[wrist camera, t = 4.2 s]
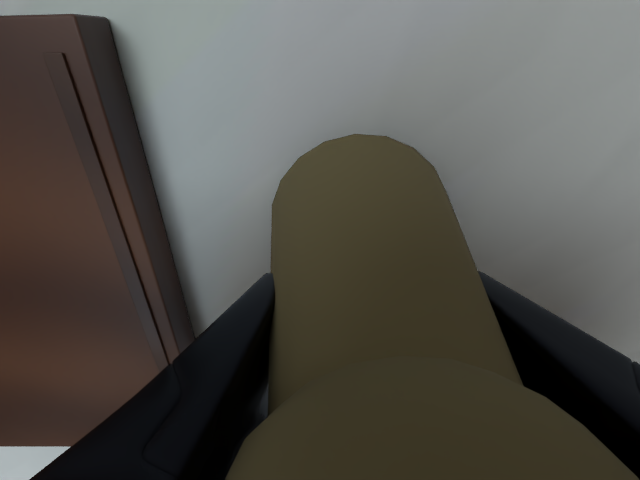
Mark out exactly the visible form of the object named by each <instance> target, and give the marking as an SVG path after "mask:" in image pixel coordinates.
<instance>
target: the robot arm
mask: <svg viewBox="0 0 640 480" xmlns="http://www.w3.org/2000/svg"><path fill="white" fill-rule="evenodd" d="M478 273H479V276H480V278H481V281H482V283H483V286H484V288H485V291H486V294H487V296H488V299H489V301H490V304H491V306H492V308H493V311H494V313H495V316H496V318H497V321H498V323H499V326H500V328H501V331H502V333H503V336H504V338H505V341H506V343H507V346H508V348H509V351H510V353H511V356H512V358H513V361H514V363H515V366H516V368H517V371H518V373H519V376H520V378H521V381H522V383H523V386H524V387H526V388H528V389H530V390H532V391H534V392H536V393H538V394H541V395H543V396H545V397H546V398H548V399H549V400H550V401H552V402H553V403H554V404H556V405H557V406H558V407H560V408H561V409H562V410H564V411H565V412H566V413H568V414H569V415H570V416H572V417H573V418H575V419H576V420H577V421H579V422H580V423H581V424H583V425H584V426H585V427H586V428H587V429H588V430H589V431H590V432H591V433H592V434H593V435H594V436H595V437H596V438H597V439H598V440H599V441H601V442H602V443H603V444H604V445H605V446H606V447H607V448H608V449H609V450H610V451H611V452H612V453H613V454H614V455H615V456H616V457H617V458H618V459H619V460H620V461H621V462H622V463H623V464H624V465H625V466H626V467H628V468H629V469H630V470H631V471H632V472H633V473H634V474H635V475H636V476H637V477H638V478H639V480H640V364H638V363H637V362H631V359H630V358H628V357H626V356H624V355H623V354H621V353H619V352H618V351H616V350H614V349H612V348H611V347H609V346H607V345H606V344H604V343H602V342H600V341H599V340H597V339H595V338H594V337H592V336H590V335H589V334H587V333H585V332H583V331H582V330H580V329H578V328H577V327H575V326H573V325H571V324H570V323H568V322H566V321H565V320H563V319H561V318H559V317H558V316H556V315H554V314H553V313H551V312H549V311H547V310H546V309H544V308H542V307H541V306H539V305H537V304H535V303H534V302H532V301H530V300H529V299H527V298H525V297H523V296H522V295H520V294H518V293H517V292H515V291H513V290H511V289H510V288H508V287H506V286H505V285H503V284H501V283H499V282H498V281H496V280H494V279H493V278H491V277H489V276H487V275H486V274H484V273H482V272H480V271H478ZM274 307H275V286H274V279H273V273H266V274H265V275H263V276H262V277H261V278H260V279H259V280H258V281H257V282H256V283H255V284H254V285H253V286H252V287H251V288H250V289H248V290H247V291H246V292H245V293H244V294H243V295H242V296H241V297H240V298H239V299H238V300H237V301H236V302H235V303H234V304H232V305H231V306H230V307H229V308H228V309H227V310H226V311H225V312H224V313H223V314H222V315H221V316H220V317H219V318H218V319H217V320H215V321H214V322H213V323H212V324H211V325H210V326H209V327H208V328H207V329H206V330H205V331H204V332H203V333H202V334H201V335H199V336H198V337H197V338H196V339H195V340H194V341H193V342H192V343H191V344H190V345H189V346H188V347H187V348H186V349H185V350H183V351H182V352H181V353H180V354H179V355H178V356H177V357H176V358H175V359H174V360H173V361H172V363H173V364H172V363H170V364H168V365H167V366H166V367H165V368H164V369H163V370H162V371H161V372H160V373H159V374H158V375H157V376H156V377H154V378H153V379H152V380H151V381H150V382H149V383H148V384H147V385H146V386H144V387H143V388H142V389H141V390H140V391H139V392H138V393H137V394H135V395H134V396H133V397H132V398H131V399H130V400H128V401H127V402H126V403H125V404H124V405H122V406H121V407H120V408H119V409H117V410H116V411H115V412H114V413H113V414H111V415H110V416H109V417H108V418H107V419H105V420H104V421H103V422H102V423H100V424H99V425H98V426H96V427H95V428H94V429H93V430H91V431H90V432H89V433H88V434H86V435H85V436H84V437H83V438H81V439H80V440H79V441H78V442H76V443H75V444H74V445H73V446H71V447H70V448H69V449H68V450H66V451H65V452H64V453H63V454H61V455H60V456H59V457H57V458H56V459H55V460H54V461H52V462H51V463H50V464H49V465H47V466H46V467H45V468H44V469H42V470H41V471H40V472H39V473H37V474H36V475H35V476H34V477H32V478H31V479H30V480H225V478H226V476H227V474H228V472H229V470H230V468H231V466H232V464H233V462H234V460H235V458H236V456H237V454H238V452H239V450H240V448H241V446H242V444H243V442H244V440H245V438H246V437H247V436H248V435H249V434H250V433H251V432H252V431H253V430H254V429H255V428H256V427H258V426H259V425H260V424H261V423H262V422H263V421H264V420H265V419H266V418H267V417H268V379H269V335H270V330H271V324H272V319H273V313H274Z"/></svg>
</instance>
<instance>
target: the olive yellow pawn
mask: <svg viewBox="0 0 640 480" xmlns="http://www.w3.org/2000/svg"><path fill="white" fill-rule="evenodd" d="M271 273H273V279H274V286H275V307H274V313H273V319H272V324H271V330H270V335H269V379H268V417H267V418H266V419H265V420H264V421H263V422H262V423H261V424H260V425H259V426H258V427H256V428H255V429H254V430H253V431H252V432H251V433H250V434H249V435H248V436H247V437H246V438H245V440H244V442H243V444H242V446H241V448H240V450H239V452H238V454H237V456H236V458H235V460H234V462H233V464H232V466H231V468H230V470H229V472H228V474H227V476H226V478H225V480H639V478H638V477H637V476H636V475H635V474H634V473H633V472H632V471H631V470H630V469H629V468H628V467H626V466H625V465H624V464H623V463H622V462H621V461H620V460H619V459H618V458H617V457H616V456H615V455H614V454H613V453H612V452H611V451H610V450H609V449H608V448H607V447H606V446H605V445H604V444H603V443H602V442H601V441H599V440H598V439H597V438H596V437H595V436H594V435H593V434H592V433H591V432H590V431H589V430H588V429H587V428H586V427H585V426H584V425H583V424H581V423H580V422H579V421H577V420H576V419H575V418H573V417H572V416H570V415H569V414H568V413H566V412H565V411H564V410H562V409H561V408H560V407H558V406H557V405H556V404H554V403H553V402H552V401H550V400H549V399H548V398H546V397H545V396H543V395H541V394H538V393H536V392H534V391H532V390H530V389H528V388H526V387H524V386H523V383H522V381H521V378H520V376H519V373H518V371H517V368H516V366H515V363H514V361H513V358H512V356H511V353H510V351H509V348H508V346H507V343H506V341H505V338H504V336H503V333H502V331H501V328H500V326H499V323H498V321H497V318H496V316H495V313H494V311H493V308H492V306H491V304H490V301H489V299H488V296H487V294H486V291H485V288H484V286H483V283H482V281H481V278H480V276H479V273H478V271H477V268H476V266H475V263H474V261H473V258H472V256H471V253H470V250H469V248H468V245H467V243H466V240H465V238H464V235H463V233H462V230H461V228H460V225H459V223H458V220H457V218H456V215H455V213H454V210H453V208H452V205H451V203H450V200H449V198H448V195H447V193H446V190H445V188H444V186H443V184H442V182H441V180H440V178H439V176H438V174H437V172H436V170H435V168H434V167H433V166H432V165H431V164H430V163H429V162H428V161H427V160H426V159H425V158H424V157H423V156H422V155H421V154H420V153H418V152H417V151H416V150H415V149H414V148H412V147H410V146H408V145H405V144H403V143H401V142H398V141H396V140H394V139H391V138H389V137H387V136H375V135H361V134H353V135H349V136H345V137H341V138H337V139H333V140H329V141H325V142H323V143H322V144H320V145H319V146H317V147H315V148H314V149H312V150H311V151H309V152H307V153H306V154H304V155H303V156H301V157H300V158H298V160H297V161H296V162H295V163H294V165H293V166H292V167H291V168H290V169H289V171H288V172H287V173H286V174H285V176H284V177H283V178H282V179H281V181H280V184H279V187H278V190H277V192H276V195H275V198H274V201H273V203H272V232H271Z"/></svg>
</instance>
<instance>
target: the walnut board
mask: <svg viewBox="0 0 640 480" xmlns="http://www.w3.org/2000/svg"><path fill="white" fill-rule="evenodd" d="M194 340H195V338H194V335H193V331H192V327H191V324H190V320H189V316H188V313H187V309H186V305H185V302H184V298H183V294H182V291H181V287H180V283H179V280H178V276H177V272H176V269H175V265H174V262H173V258H172V254H171V251H170V247H169V243H168V240H167V236H166V232H165V229H164V225H163V221H162V218H161V214H160V210H159V207H158V203H157V199H156V196H155V192H154V188H153V185H152V181H151V177H150V174H149V170H148V166H147V163H146V159H145V155H144V152H143V148H142V144H141V141H140V137H139V133H138V130H137V126H136V122H135V119H134V115H133V112H132V108H131V104H130V101H129V97H128V93H127V90H126V86H125V82H124V79H123V75H122V71H121V68H120V64H119V60H118V57H117V53H116V49H115V46H114V42H113V38H112V35H111V31H110V27H109V24H108V20H107V18H105V17H99V16H89V15H78V14H52V15H12V16H0V446H73V445H74V444H75V443H76V442H78V441H79V440H80V439H81V438H83V437H84V436H85V435H86V434H88V433H89V432H90V431H91V430H93V429H94V428H95V427H96V426H98V425H99V424H100V423H102V422H103V421H104V420H105V419H107V418H108V417H109V416H110V415H111V414H113V413H114V412H115V411H116V410H117V409H119V408H120V407H121V406H122V405H124V404H125V403H126V402H127V401H128V400H130V399H131V398H132V397H133V396H134V395H135V394H137V393H138V392H139V391H140V390H141V389H142V388H143V387H144V386H146V385H147V384H148V383H149V382H150V381H151V380H152V379H153V378H154V377H156V376H157V375H158V374H159V373H160V372H161V371H162V370H163V369H164V368H165V367H166V366H167V365H168V364H170V363H172V361H173V360H174V359H175V358H176V357H177V356H178V355H179V354H180V353H181V352H182V351H183V350H185V349H186V348H187V347H188V346H189V345H190V344H191V343H192V342H193V341H194ZM172 364H173V363H172Z"/></svg>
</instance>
